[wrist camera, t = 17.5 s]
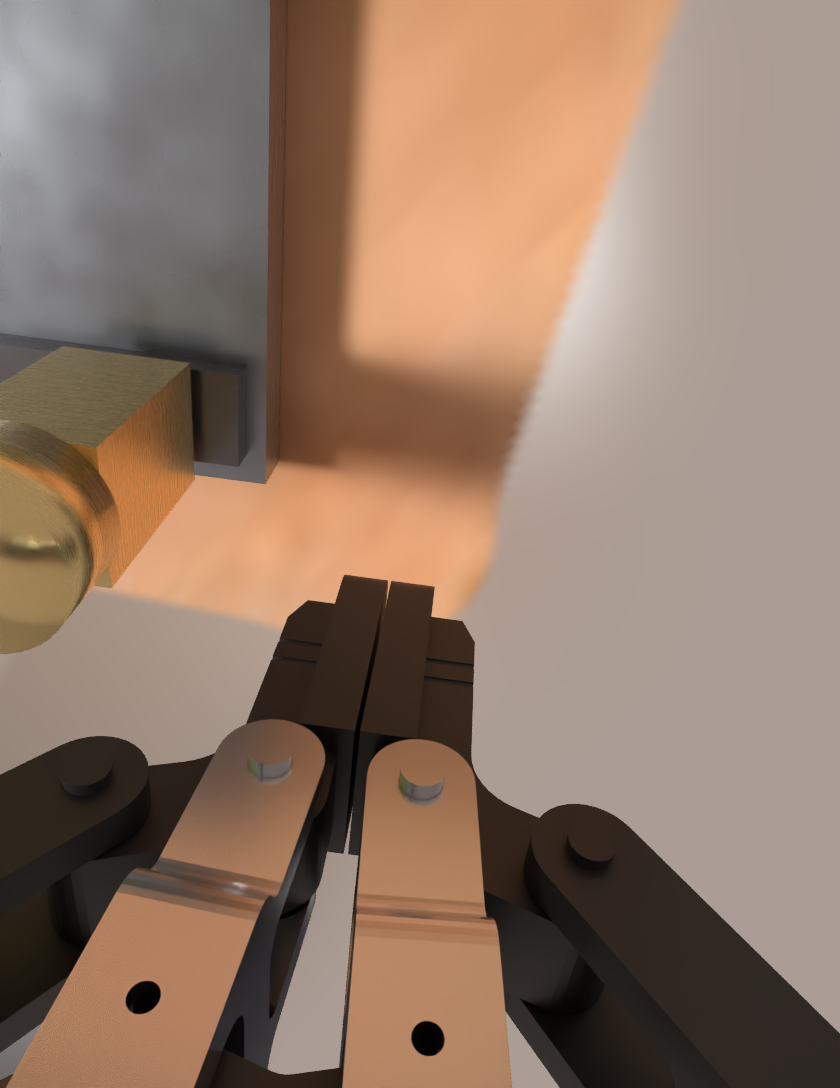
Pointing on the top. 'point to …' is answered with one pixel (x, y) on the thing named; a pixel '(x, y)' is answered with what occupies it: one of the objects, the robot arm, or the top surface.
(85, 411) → the press lever
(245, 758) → the robot arm
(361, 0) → the top surface
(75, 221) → the plate
